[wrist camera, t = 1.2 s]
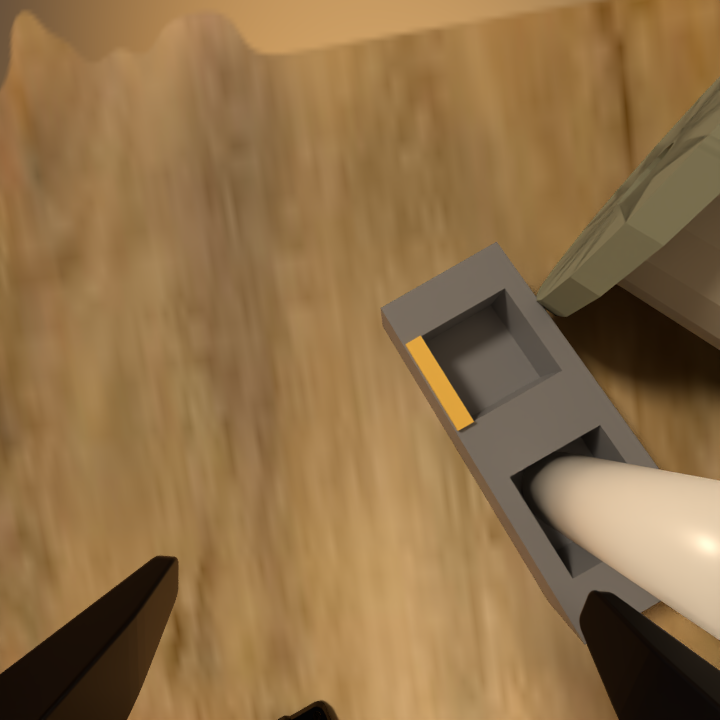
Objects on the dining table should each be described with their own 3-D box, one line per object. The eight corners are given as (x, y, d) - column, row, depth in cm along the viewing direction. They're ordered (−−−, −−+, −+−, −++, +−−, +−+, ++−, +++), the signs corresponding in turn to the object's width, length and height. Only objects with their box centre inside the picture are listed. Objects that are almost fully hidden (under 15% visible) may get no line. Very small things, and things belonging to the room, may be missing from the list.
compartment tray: (664, 536, 21) (732, 565, 17) (549, 603, 21) (588, 648, 17) (480, 269, 25) (498, 239, 21) (382, 325, 25) (380, 306, 21)
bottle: (614, 504, 21) (1046, 668, 7) (549, 541, 21) (856, 778, 7) (569, 437, 22) (877, 468, 8) (507, 473, 22) (707, 566, 8)
